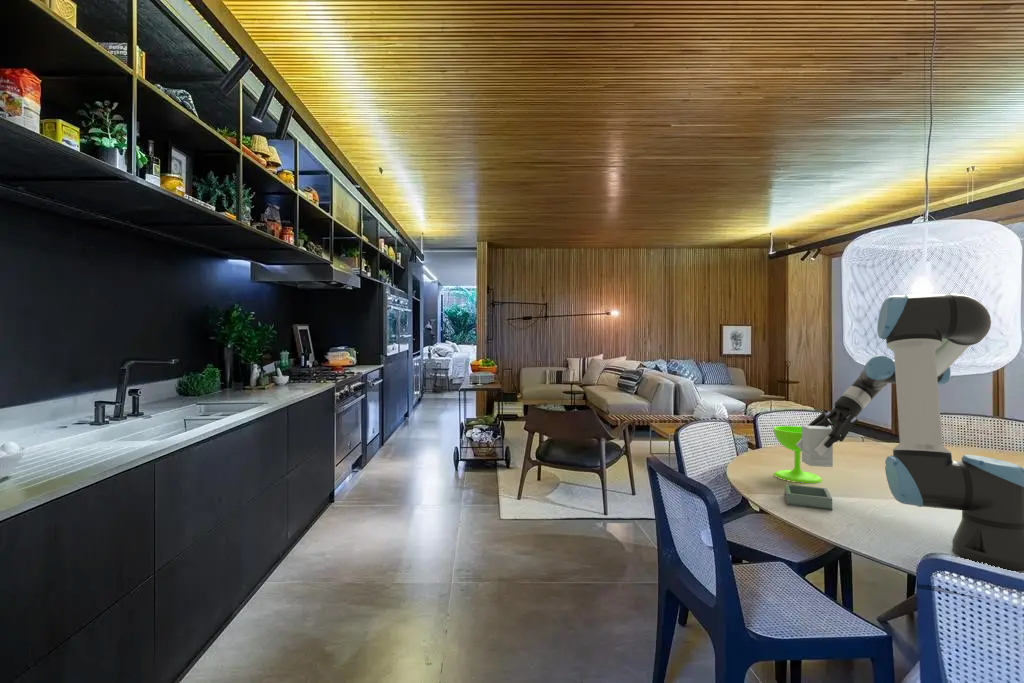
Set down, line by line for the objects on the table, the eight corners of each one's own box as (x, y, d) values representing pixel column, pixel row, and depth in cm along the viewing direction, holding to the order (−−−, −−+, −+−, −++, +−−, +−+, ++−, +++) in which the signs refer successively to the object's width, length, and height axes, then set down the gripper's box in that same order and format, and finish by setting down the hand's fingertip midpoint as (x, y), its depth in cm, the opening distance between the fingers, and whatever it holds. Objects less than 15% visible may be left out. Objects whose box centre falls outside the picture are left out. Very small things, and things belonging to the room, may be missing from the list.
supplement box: (833, 467, 174) (833, 429, 174) (808, 466, 176) (809, 428, 176) (824, 462, 181) (824, 425, 181) (801, 461, 183) (801, 425, 183)
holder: (832, 510, 160) (832, 498, 160) (787, 505, 164) (787, 493, 164) (826, 499, 171) (826, 488, 171) (784, 494, 175) (785, 484, 175)
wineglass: (829, 478, 196) (829, 430, 196) (811, 486, 186) (811, 435, 185) (784, 470, 208) (784, 424, 208) (765, 476, 198) (765, 428, 198)
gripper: (884, 414, 170) (838, 465, 168) (836, 406, 191) (794, 451, 189) (869, 398, 169) (822, 448, 167) (822, 392, 190) (781, 436, 189)
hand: (808, 450), depth 178 cm, fingers closed on supplement box, 9 cm apart
